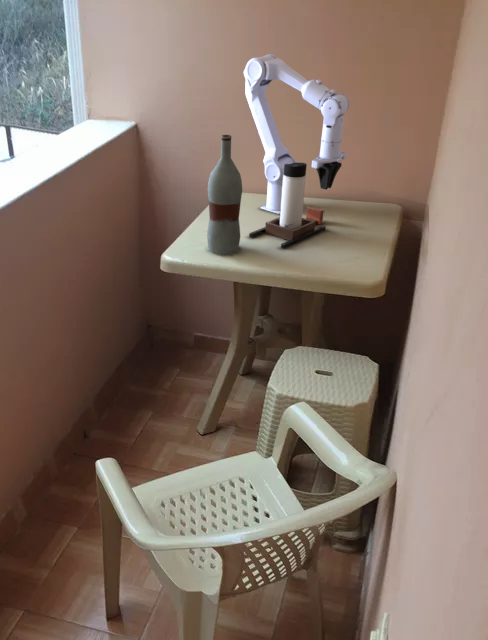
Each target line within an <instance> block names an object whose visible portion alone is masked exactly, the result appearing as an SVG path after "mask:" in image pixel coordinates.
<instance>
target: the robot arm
mask: <svg viewBox="0 0 488 640" xmlns="http://www.w3.org/2000/svg"><path fill="white" fill-rule="evenodd" d="M243 76H244V79H245V86H244V87H245V88H244V89H245V90H244V92H245V98H246V101H247V103H248V106H249V109H250V112H251V115H252V118H253V121H254V123H255V126H256V129H257V132H258V135H259V138H260V140H261V144H262V146H263V149H264V152H265V153H264V157H263V159H262V162H263V166H264V176H265V178H266V179H267V188H266V189H267V191H266V192H267V193H266V204H265V205H261V206H260V209H261V210H264V211H267V212H271V213H274V214H277V215H280V213H281V199H282V185H283V174H284V165H285V164H292V163H297V161H296V159H294V157H293V156H292V155H291V152H290V150H289V149H288V148H287V147H285V146H284V145H283V141H282V140H281V137H280V134H279V131H278V127H277V124H276V122H275V119H274V116H273V113H272V110H271V108H270V105H269V100H268V99H267V96H266V93H267V90H268V88H269V86H270V84H271V83H272V81H274V80H280V81H281V82H283V83H286V85H288V86H290V87H292V88H294V89H295V90H297V91H299V92H300V93H301V96H302V99H303V100H304V101H305V102H308V103H309V104H310V105H312V106H313V107H315V108H316V109H318V110H319V111H320V112H321V115H322V116H323V121H322V122H323V123H322V131H321V139H320V149H319V155H318V156H317V157H316V158H314V159H313V160H311V168H312V169H316V172H317V174H318V175H317V176H318V179H319V187H320V189H322V190H328V189H331V188H332V186H333V184H334V181H335V178H336V176H337V174H338V172H339V171H340V169H341V168H342V166H343V165H342V161H343V160H346V156H347V152H346V151H342V150H341V148H342V147H341V146H342V140H343V133H344V132H343V131H344V125H345V116H346V115H345V114H346V113H347V112H348V111H349V109H350V100H349V98H348V97H347V96H346V95H345V94H344V93H343V92H338V93H336V90H335V89H334V88H332V89H330V88H329V87H327V86H326V85H324V84H323V81H322V80H321V79H315V78H314V79H311V80H308V79H307V78H305V77H304V76H303V75H301V74H300V73H299V72H297V71H296V70H295V69H293V68H292V67H290V66H289V65H288V64H286V63H285V61H284V60H282V59H281V58H279V57H277V56H276V55H274V54H271V53H269V54H266V55H264V56H260V57H252V58H250V59H249V60H248V61H247V62H246V64H245V68H244V70H243Z"/></svg>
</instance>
